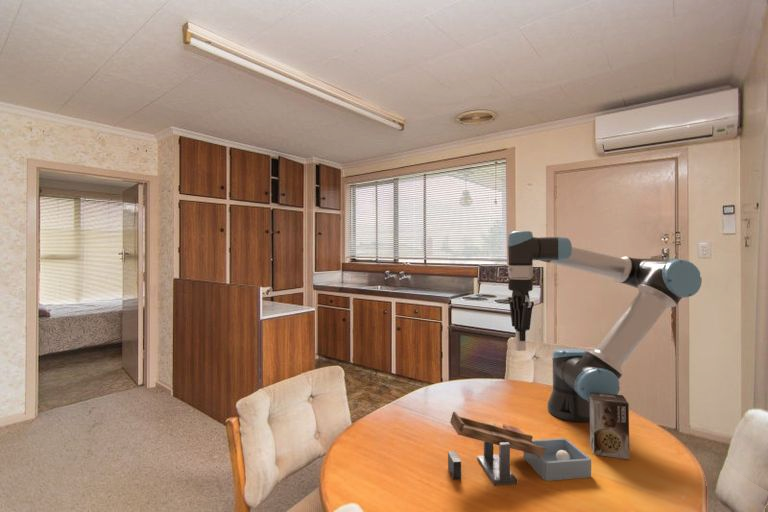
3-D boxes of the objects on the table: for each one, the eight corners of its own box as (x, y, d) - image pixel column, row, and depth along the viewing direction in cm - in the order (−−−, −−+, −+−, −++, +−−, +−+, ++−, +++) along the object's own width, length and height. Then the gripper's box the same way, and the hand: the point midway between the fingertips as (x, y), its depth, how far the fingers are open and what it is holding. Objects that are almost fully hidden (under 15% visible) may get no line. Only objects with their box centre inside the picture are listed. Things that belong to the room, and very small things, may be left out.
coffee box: (623, 449, 111) (623, 394, 110) (630, 460, 105) (630, 403, 104) (589, 444, 114) (589, 391, 113) (593, 454, 108) (593, 399, 107)
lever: (517, 431, 112) (520, 421, 112) (544, 458, 97) (547, 447, 97) (443, 411, 109) (446, 401, 109) (458, 436, 94) (462, 424, 94)
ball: (566, 449, 104) (556, 445, 104) (574, 456, 101) (563, 452, 100) (562, 461, 104) (551, 457, 104) (570, 468, 100) (558, 464, 100)
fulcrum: (497, 457, 106) (497, 422, 106) (517, 483, 94) (517, 444, 94) (444, 461, 104) (444, 426, 104) (457, 488, 93) (457, 448, 92)
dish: (565, 453, 108) (565, 437, 108) (592, 477, 97) (592, 459, 97) (522, 456, 107) (522, 440, 107) (544, 480, 95) (544, 463, 95)
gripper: (500, 277, 128) (501, 345, 129) (518, 280, 115) (519, 356, 116) (521, 277, 129) (521, 344, 129) (541, 279, 116) (542, 355, 117)
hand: (520, 350), depth 123 cm, fingers closed
